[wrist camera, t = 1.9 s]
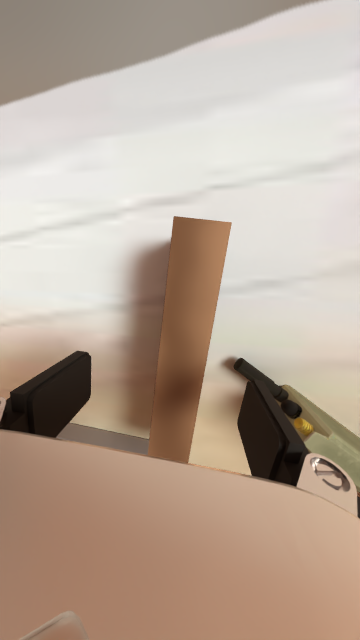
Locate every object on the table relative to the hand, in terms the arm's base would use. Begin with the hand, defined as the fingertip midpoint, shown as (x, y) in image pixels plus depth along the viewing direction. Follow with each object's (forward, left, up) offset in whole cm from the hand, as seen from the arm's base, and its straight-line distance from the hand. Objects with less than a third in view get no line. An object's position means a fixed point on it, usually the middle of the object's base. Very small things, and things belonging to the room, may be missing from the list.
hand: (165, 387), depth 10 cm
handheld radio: (-17, +7, -9) cm, 20 cm away
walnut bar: (-1, 0, -8) cm, 8 cm away
